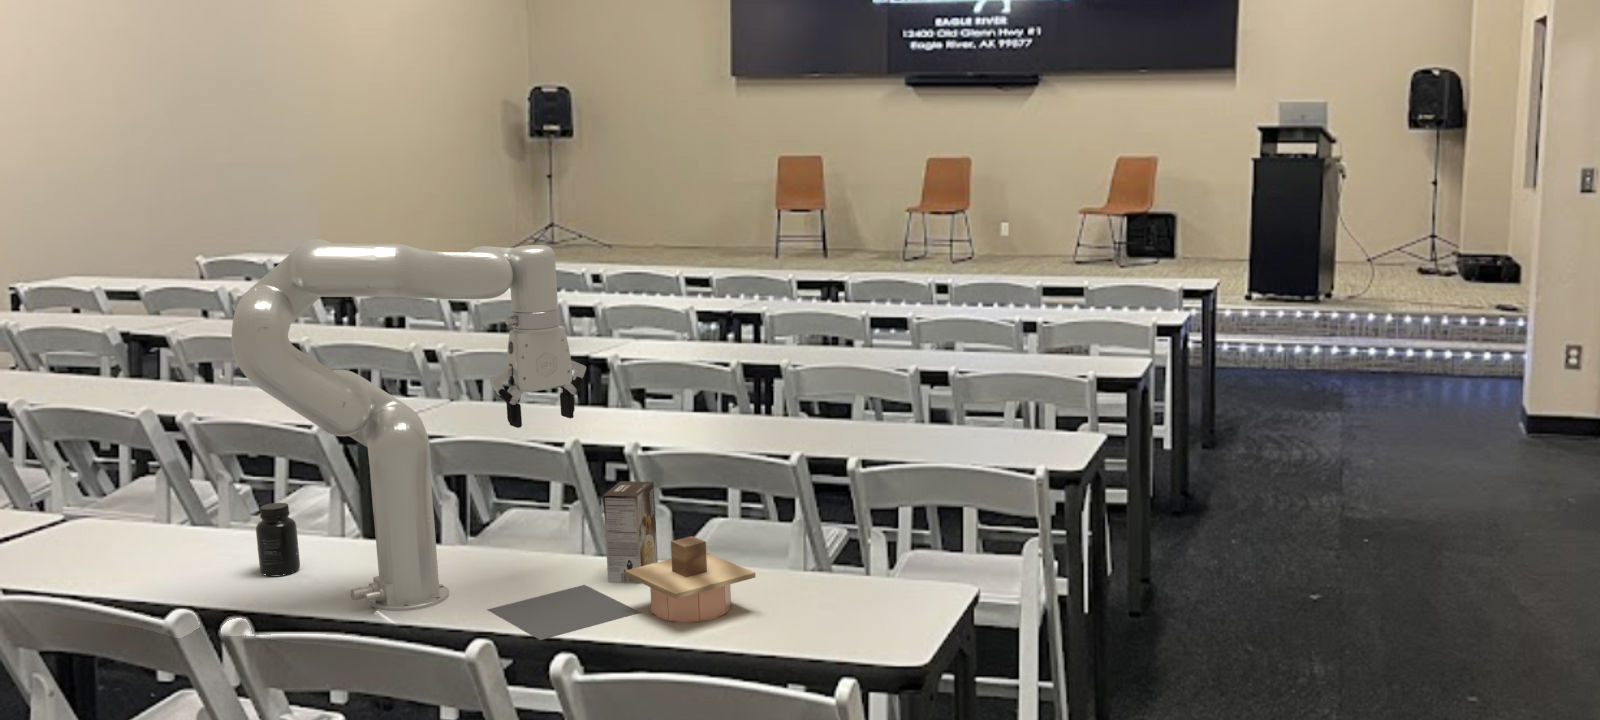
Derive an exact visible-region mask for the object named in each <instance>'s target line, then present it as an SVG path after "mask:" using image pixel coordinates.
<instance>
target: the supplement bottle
mask: <svg viewBox="0 0 1600 720" xmlns="http://www.w3.org/2000/svg"><path fill="white" fill-rule="evenodd" d="M289 508H290V506H289V504H288V503H286V502H272V503H267V504H264V505H261V506H260V507H259V518H260V519H261V521H259V522H258V523H257V524H256V528H255V533H256V542H257V543H256V544H257V553H258V565H259V571H260V573H261V575H263V574H266V575H283V574H288V575H290V574H289V573H291V574H293V573H292V572H294V573H296V572H298V571H299V570H300V568H301V560H300V552H299V551H300V549H299V539H298V530H297V523H296V521H295V520H294V519H293V518H291V517H289V516H290V513H291V512H290V510H289ZM298 569H299V570H298ZM297 570H298V571H297ZM295 571H296V572H295ZM283 576H284V575H283Z"/></svg>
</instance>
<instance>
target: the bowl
mask: <svg viewBox="0 0 1600 720" xmlns="http://www.w3.org/2000/svg"><path fill="white" fill-rule="evenodd" d="M649 588H650V608H651V611H650V612H651V613H652V614H655V616H656V617H658V618H659V619H662V620H665V621H670V622H676V623H697V622H705V621H709V620H713V619H716V618H719V617H721V616H723V615H726V613H727V612H728V611H729V610H730V606H731V604H732V596H731V595H732V594H731V593H732V591H731V589H732V588H731V584H730V585H726V586H722V587H719V588H715V589H711V590H707V591H704V592H700V593H696V594H693V595H689V596H685V597H682V598H678V599H675V598H673V597H671V596H668V595H666V594H664V593H662V592H660V591H658V590H655V589H653V588H651V587H649Z"/></svg>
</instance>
